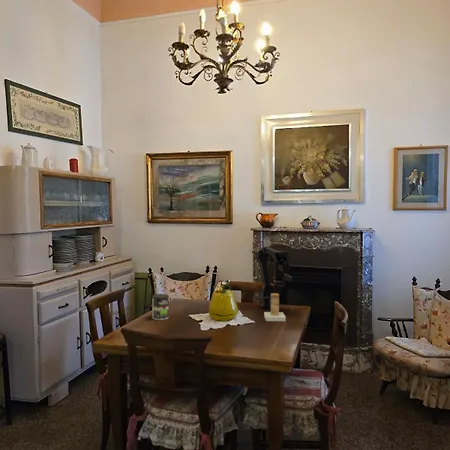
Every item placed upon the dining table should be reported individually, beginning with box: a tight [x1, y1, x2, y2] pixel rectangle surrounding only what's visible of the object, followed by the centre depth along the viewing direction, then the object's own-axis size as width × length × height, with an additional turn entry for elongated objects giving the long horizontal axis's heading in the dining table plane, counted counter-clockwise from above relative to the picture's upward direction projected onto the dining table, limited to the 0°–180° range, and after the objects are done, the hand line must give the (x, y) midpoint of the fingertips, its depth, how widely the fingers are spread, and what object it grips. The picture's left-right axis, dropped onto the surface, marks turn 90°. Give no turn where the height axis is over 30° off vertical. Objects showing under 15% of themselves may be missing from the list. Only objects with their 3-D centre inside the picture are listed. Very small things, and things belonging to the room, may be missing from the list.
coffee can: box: [151, 293, 170, 321], centre depth 270 cm, size 10×10×14 cm
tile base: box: [263, 311, 287, 322], centre depth 272 cm, size 12×12×2 cm
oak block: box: [270, 292, 280, 316], centre depth 271 cm, size 4×4×13 cm
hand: (278, 293), depth 284 cm, fingers open, 9 cm apart
